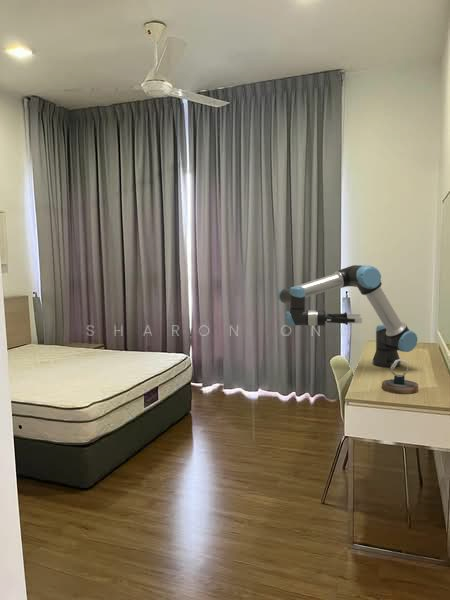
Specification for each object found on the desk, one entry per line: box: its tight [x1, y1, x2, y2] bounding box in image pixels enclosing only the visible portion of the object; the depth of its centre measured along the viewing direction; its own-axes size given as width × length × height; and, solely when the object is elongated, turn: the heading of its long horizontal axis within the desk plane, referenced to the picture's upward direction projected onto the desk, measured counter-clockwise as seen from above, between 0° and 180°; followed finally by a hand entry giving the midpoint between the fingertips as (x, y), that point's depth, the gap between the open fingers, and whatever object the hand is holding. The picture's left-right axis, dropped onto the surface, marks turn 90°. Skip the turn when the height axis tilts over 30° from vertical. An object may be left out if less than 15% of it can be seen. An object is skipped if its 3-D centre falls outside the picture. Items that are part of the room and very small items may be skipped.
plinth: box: [381, 378, 419, 395], centre depth 224 cm, size 16×16×3 cm
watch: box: [389, 358, 409, 385], centre depth 224 cm, size 6×8×11 cm
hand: (361, 318), depth 235 cm, fingers open, 13 cm apart
